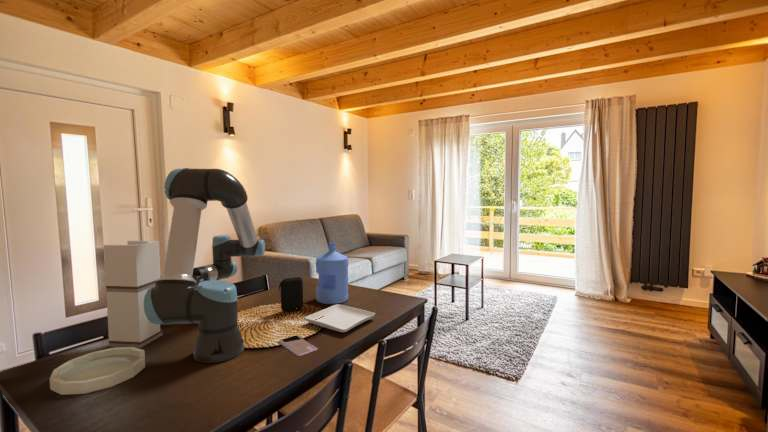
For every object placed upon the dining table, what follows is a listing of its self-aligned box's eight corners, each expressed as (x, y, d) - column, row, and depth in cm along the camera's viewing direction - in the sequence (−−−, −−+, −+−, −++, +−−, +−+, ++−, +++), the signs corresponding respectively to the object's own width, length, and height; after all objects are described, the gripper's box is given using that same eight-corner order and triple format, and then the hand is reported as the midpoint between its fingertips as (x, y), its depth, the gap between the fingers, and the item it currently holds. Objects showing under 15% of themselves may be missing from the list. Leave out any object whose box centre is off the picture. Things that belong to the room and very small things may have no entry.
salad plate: (376, 320, 146) (376, 312, 146) (344, 338, 128) (344, 329, 128) (337, 310, 157) (337, 303, 157) (302, 325, 139) (302, 317, 139)
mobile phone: (296, 334, 129) (318, 347, 118) (296, 336, 129) (318, 350, 118) (277, 340, 124) (298, 354, 113) (277, 342, 124) (298, 357, 113)
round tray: (160, 364, 107) (160, 355, 107) (77, 402, 88) (76, 391, 88) (119, 351, 116) (119, 342, 116) (36, 382, 97) (35, 372, 97)
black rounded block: (279, 313, 152) (278, 280, 151) (278, 311, 155) (277, 278, 154) (303, 309, 157) (303, 277, 156) (302, 307, 160) (301, 276, 158)
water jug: (337, 293, 182) (336, 239, 180) (354, 300, 170) (354, 243, 168) (310, 299, 172) (309, 242, 170) (326, 307, 160) (326, 246, 158)
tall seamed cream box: (162, 335, 129) (158, 241, 127) (140, 348, 119) (135, 245, 116) (134, 333, 130) (129, 240, 127) (109, 346, 120) (103, 245, 117)
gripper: (224, 287, 143) (174, 302, 124) (183, 280, 154) (132, 293, 134) (223, 269, 143) (173, 281, 123) (183, 263, 153) (131, 274, 134)
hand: (151, 287), depth 129 cm, fingers open, 13 cm apart
